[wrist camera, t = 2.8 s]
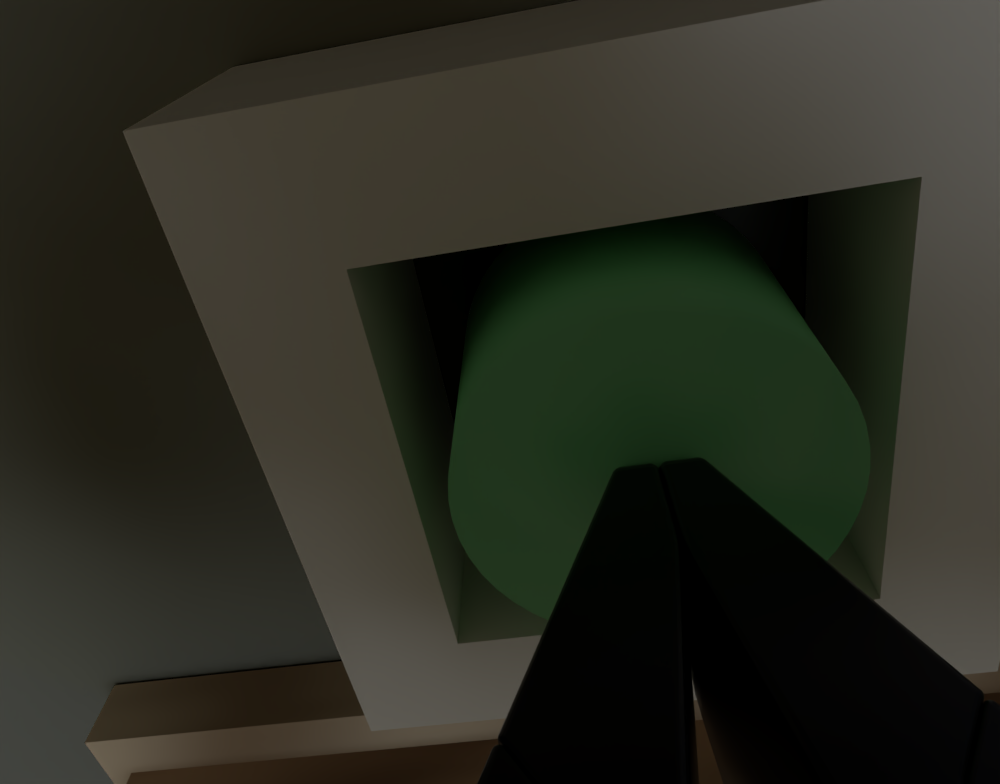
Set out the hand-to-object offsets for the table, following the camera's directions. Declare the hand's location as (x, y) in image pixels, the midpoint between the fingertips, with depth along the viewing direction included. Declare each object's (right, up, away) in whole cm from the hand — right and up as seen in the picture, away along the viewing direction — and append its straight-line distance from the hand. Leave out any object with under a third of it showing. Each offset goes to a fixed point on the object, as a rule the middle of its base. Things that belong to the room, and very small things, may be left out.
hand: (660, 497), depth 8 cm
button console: (0, +2, +3) cm, 4 cm away
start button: (0, +2, +2) cm, 3 cm away
